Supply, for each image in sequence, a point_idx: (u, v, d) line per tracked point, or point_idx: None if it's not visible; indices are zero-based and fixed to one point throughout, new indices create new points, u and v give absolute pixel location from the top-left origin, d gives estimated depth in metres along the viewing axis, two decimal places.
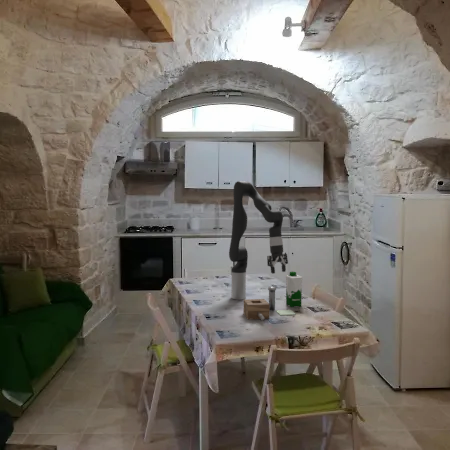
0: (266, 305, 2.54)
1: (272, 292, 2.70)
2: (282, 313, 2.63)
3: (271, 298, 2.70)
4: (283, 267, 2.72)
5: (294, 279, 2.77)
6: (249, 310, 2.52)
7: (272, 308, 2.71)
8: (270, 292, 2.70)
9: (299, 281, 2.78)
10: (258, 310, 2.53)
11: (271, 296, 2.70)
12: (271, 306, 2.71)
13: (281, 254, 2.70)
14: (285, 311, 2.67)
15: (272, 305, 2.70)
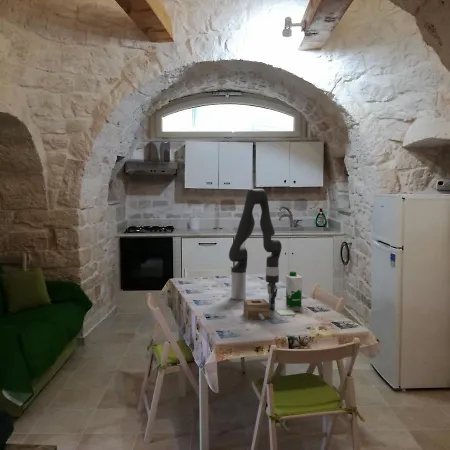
0: (266, 305, 2.54)
1: None
2: (282, 313, 2.63)
3: None
4: None
5: (294, 279, 2.77)
6: (249, 310, 2.52)
7: (272, 308, 2.71)
8: None
9: (299, 281, 2.78)
10: (258, 310, 2.53)
11: None
12: (271, 306, 2.71)
13: None
14: (285, 311, 2.67)
15: (272, 305, 2.70)
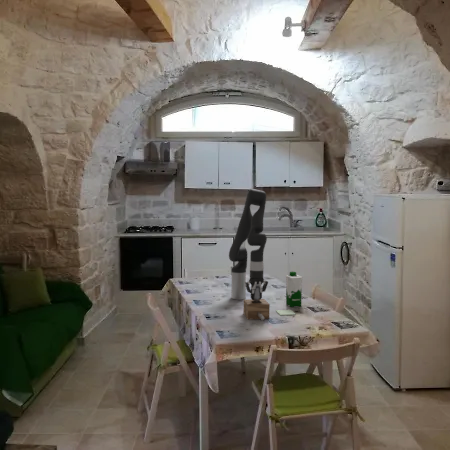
0: (266, 305, 2.54)
1: None
2: (282, 313, 2.63)
3: None
4: None
5: (294, 279, 2.77)
6: (249, 310, 2.52)
7: None
8: None
9: (299, 281, 2.78)
10: (258, 310, 2.53)
11: None
12: None
13: (261, 279, 2.58)
14: (285, 311, 2.67)
15: (254, 302, 2.58)
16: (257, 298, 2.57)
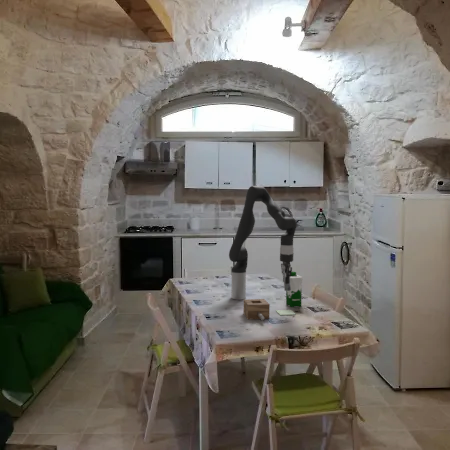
0: (266, 305, 2.54)
1: None
2: (282, 313, 2.63)
3: None
4: None
5: (294, 279, 2.77)
6: (249, 310, 2.52)
7: (288, 288, 2.63)
8: None
9: (299, 281, 2.78)
10: (258, 310, 2.53)
11: None
12: (287, 286, 2.63)
13: None
14: (285, 311, 2.67)
15: (288, 285, 2.63)
16: None
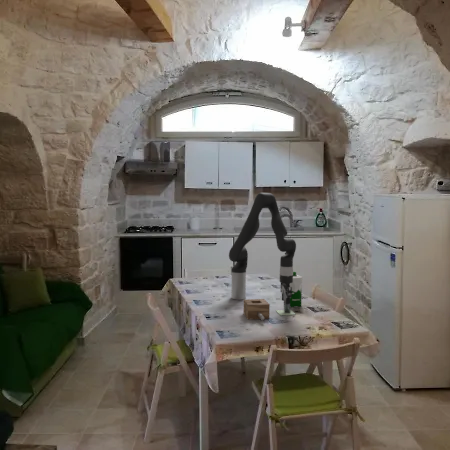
0: (266, 305, 2.54)
1: None
2: (282, 313, 2.63)
3: None
4: None
5: (294, 279, 2.77)
6: (249, 310, 2.52)
7: (288, 310, 2.64)
8: (285, 294, 2.63)
9: (299, 281, 2.78)
10: (258, 310, 2.53)
11: None
12: (287, 308, 2.64)
13: None
14: None
15: (288, 307, 2.64)
16: None
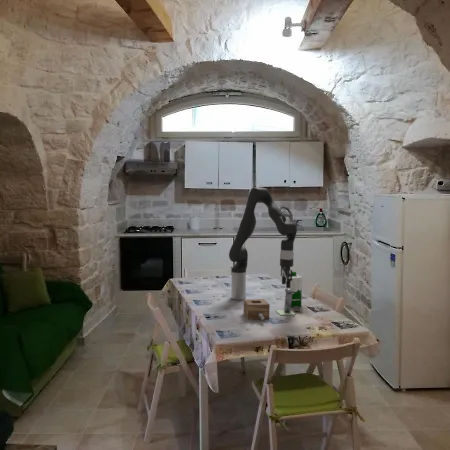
0: (266, 305, 2.54)
1: (289, 294, 2.63)
2: (282, 313, 2.63)
3: (288, 300, 2.63)
4: (284, 280, 2.68)
5: (294, 279, 2.77)
6: (249, 310, 2.52)
7: (288, 310, 2.64)
8: (287, 294, 2.63)
9: (299, 281, 2.78)
10: (258, 310, 2.53)
11: (288, 298, 2.63)
12: (287, 308, 2.64)
13: None
14: None
15: (288, 307, 2.64)
16: None
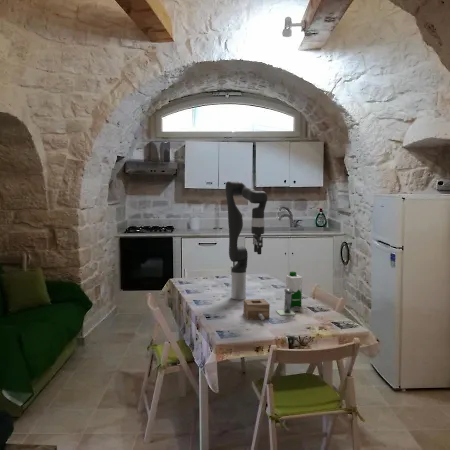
0: (266, 305, 2.54)
1: (289, 294, 2.63)
2: (282, 313, 2.63)
3: (288, 300, 2.63)
4: (256, 247, 2.76)
5: (294, 279, 2.77)
6: (249, 310, 2.52)
7: (288, 310, 2.64)
8: (287, 294, 2.63)
9: (299, 281, 2.78)
10: (258, 310, 2.53)
11: (288, 298, 2.63)
12: (287, 308, 2.64)
13: None
14: None
15: (288, 307, 2.64)
16: (290, 303, 2.65)
